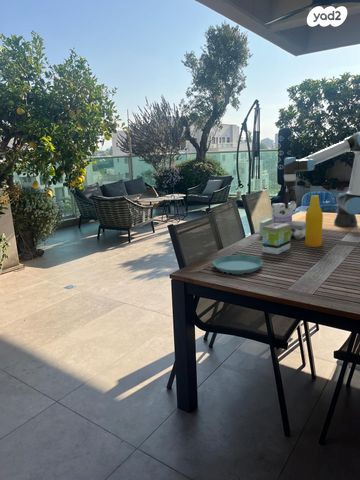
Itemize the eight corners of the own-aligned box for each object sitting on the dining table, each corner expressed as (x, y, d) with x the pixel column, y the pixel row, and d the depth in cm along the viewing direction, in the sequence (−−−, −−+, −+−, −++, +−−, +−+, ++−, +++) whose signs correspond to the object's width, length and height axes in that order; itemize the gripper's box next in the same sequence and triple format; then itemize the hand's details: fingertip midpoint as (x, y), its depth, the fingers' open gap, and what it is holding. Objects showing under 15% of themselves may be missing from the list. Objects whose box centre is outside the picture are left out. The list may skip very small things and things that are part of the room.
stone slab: (308, 225, 227) (308, 221, 227) (301, 229, 216) (302, 225, 216) (290, 224, 234) (290, 220, 234) (283, 228, 223) (283, 224, 223)
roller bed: (310, 234, 229) (310, 225, 228) (302, 240, 216) (303, 230, 215) (290, 233, 236) (290, 224, 235) (282, 238, 224) (282, 229, 223)
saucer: (211, 261, 184) (211, 255, 183) (257, 259, 183) (257, 253, 182) (215, 277, 161) (214, 270, 160) (267, 275, 160) (267, 268, 159)
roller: (296, 209, 246) (296, 201, 244) (290, 211, 236) (290, 204, 235) (289, 208, 249) (289, 201, 247) (283, 211, 239) (283, 204, 238)
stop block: (272, 231, 244) (273, 218, 241) (264, 236, 231) (264, 222, 229) (268, 231, 245) (268, 218, 243) (259, 236, 233) (259, 222, 231)
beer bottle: (324, 244, 204) (326, 195, 197) (317, 247, 197) (319, 197, 190) (308, 242, 210) (310, 194, 203) (302, 245, 203) (303, 196, 197)
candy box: (290, 223, 267) (290, 202, 263) (292, 225, 261) (292, 203, 257) (272, 224, 268) (272, 203, 264) (273, 225, 263) (273, 204, 259)
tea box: (278, 254, 189) (278, 228, 185) (262, 252, 195) (262, 226, 192) (290, 248, 199) (291, 223, 196) (274, 246, 206) (275, 221, 202)
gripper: (290, 179, 249) (290, 208, 254) (278, 182, 230) (278, 214, 235) (300, 178, 245) (300, 209, 250) (289, 182, 226) (289, 214, 231)
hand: (290, 211), depth 243 cm, fingers closed on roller, 12 cm apart
